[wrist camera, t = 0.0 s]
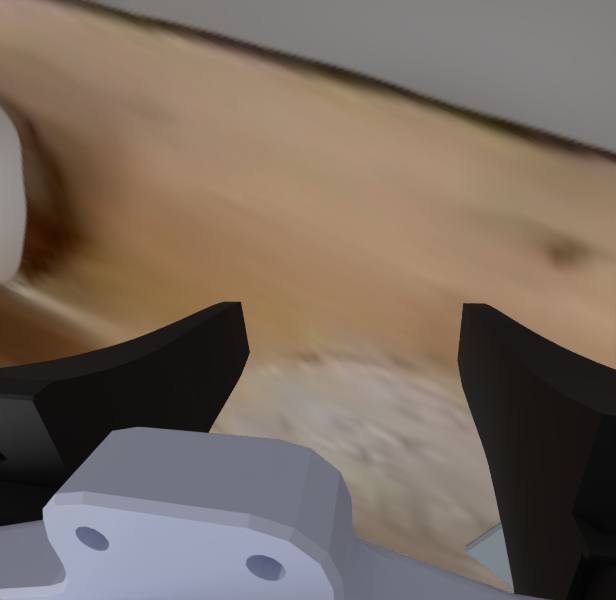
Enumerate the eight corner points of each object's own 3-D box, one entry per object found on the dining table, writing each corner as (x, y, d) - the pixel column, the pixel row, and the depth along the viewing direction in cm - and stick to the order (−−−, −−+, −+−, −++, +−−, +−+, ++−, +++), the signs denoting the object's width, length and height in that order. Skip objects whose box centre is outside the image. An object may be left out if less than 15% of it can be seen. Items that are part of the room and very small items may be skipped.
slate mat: (565, 626, 26) (568, 633, 25) (465, 547, 26) (466, 552, 25) (685, 563, 23) (690, 569, 22) (572, 473, 22) (575, 477, 22)
